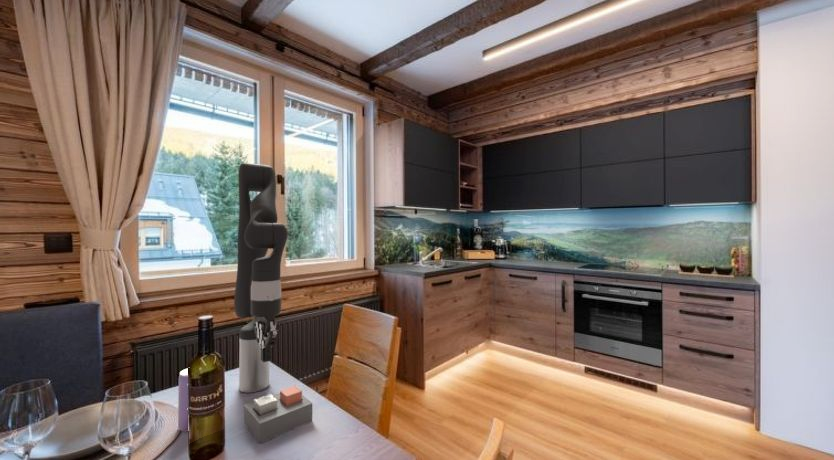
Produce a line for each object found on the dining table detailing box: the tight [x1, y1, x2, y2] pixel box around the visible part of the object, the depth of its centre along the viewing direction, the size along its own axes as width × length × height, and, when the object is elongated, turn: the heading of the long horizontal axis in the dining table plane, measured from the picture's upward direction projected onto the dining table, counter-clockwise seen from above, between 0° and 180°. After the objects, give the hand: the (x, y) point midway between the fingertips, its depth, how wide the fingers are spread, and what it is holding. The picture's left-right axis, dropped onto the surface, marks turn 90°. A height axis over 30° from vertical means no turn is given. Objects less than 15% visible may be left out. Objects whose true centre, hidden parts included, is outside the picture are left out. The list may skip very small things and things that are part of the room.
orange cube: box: [279, 385, 303, 406], centre depth 93 cm, size 4×4×4 cm
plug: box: [253, 393, 277, 416], centre depth 88 cm, size 4×4×4 cm
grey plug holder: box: [243, 392, 313, 444], centre depth 91 cm, size 12×14×5 cm
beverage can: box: [177, 367, 189, 433], centre depth 89 cm, size 6×6×15 cm
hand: (265, 360), depth 88 cm, fingers closed
